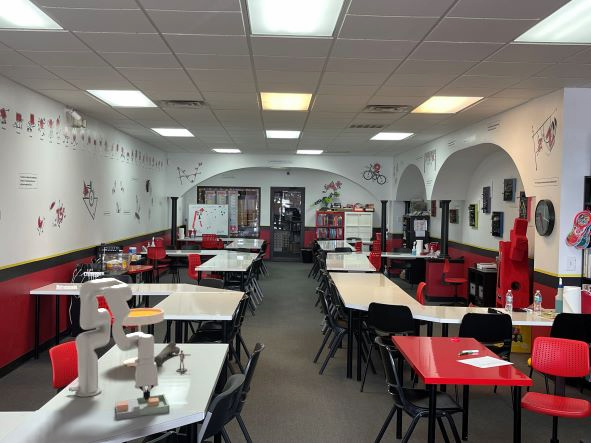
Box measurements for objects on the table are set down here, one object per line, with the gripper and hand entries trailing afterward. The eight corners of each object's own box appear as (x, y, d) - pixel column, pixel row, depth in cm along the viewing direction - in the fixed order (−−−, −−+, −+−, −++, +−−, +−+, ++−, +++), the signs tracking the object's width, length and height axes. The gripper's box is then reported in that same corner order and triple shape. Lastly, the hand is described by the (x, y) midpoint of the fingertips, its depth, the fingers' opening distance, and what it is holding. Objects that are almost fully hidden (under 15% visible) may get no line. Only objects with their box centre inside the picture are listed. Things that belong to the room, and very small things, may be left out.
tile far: (159, 400, 253) (159, 406, 253) (158, 397, 258) (158, 402, 258) (148, 402, 252) (148, 407, 252) (147, 398, 257) (147, 403, 257)
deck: (117, 419, 239) (117, 413, 239) (115, 406, 255) (115, 401, 255) (140, 416, 242) (140, 410, 242) (137, 403, 258) (137, 398, 258)
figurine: (192, 369, 315) (192, 349, 315) (188, 372, 309) (188, 352, 309) (174, 368, 317) (174, 348, 317) (170, 372, 311) (170, 351, 310)
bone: (166, 353, 354) (166, 339, 354) (180, 354, 352) (180, 340, 352) (146, 367, 322) (146, 352, 322) (161, 368, 320) (161, 352, 320)
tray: (140, 416, 242) (140, 409, 242) (137, 403, 258) (137, 397, 258) (169, 411, 247) (169, 405, 247) (164, 400, 263) (164, 394, 263)
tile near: (116, 411, 242) (116, 405, 242) (116, 407, 246) (116, 402, 246) (128, 409, 243) (128, 404, 243) (127, 406, 248) (127, 400, 248)
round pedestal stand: (173, 361, 332) (172, 311, 332) (129, 372, 312) (128, 318, 311) (149, 353, 353) (149, 306, 353) (106, 362, 333) (105, 312, 332)
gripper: (130, 364, 248) (130, 404, 248) (163, 361, 254) (163, 399, 254) (129, 360, 255) (129, 398, 255) (161, 357, 261) (161, 394, 261)
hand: (146, 399), depth 255 cm, fingers closed
